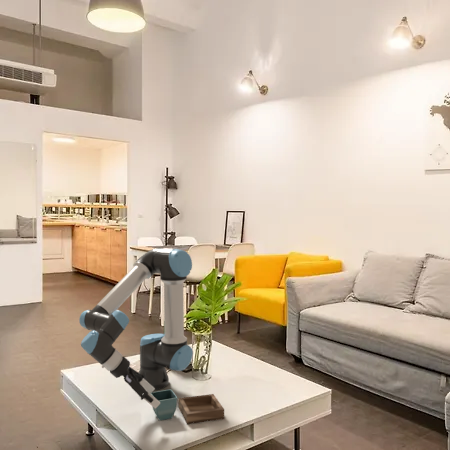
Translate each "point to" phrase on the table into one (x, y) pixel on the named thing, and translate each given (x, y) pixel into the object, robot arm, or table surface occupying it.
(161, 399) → the flower pot
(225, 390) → the table surface
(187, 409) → the wooden tray
